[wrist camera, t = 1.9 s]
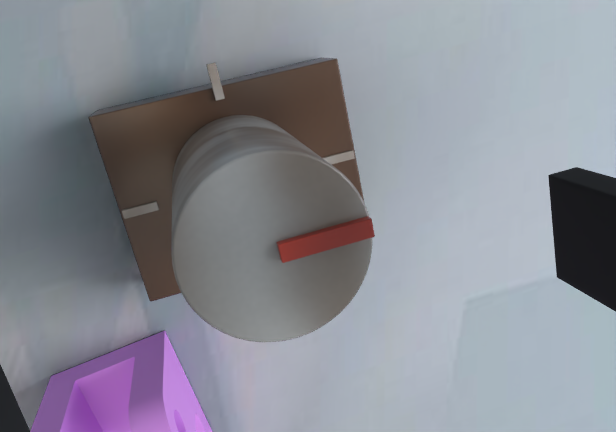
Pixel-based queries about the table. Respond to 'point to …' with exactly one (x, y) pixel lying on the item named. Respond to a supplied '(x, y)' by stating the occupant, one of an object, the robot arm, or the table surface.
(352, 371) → the table surface
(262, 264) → the dial
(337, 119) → the panel
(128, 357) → the bracket
